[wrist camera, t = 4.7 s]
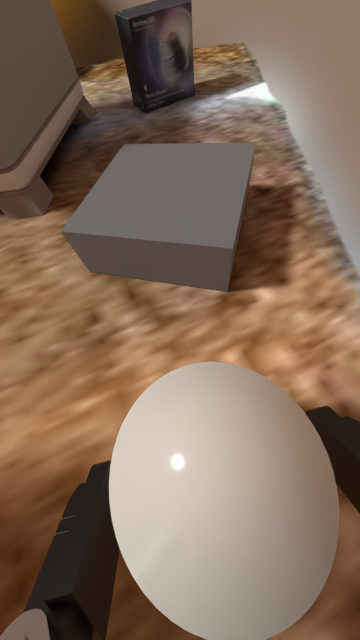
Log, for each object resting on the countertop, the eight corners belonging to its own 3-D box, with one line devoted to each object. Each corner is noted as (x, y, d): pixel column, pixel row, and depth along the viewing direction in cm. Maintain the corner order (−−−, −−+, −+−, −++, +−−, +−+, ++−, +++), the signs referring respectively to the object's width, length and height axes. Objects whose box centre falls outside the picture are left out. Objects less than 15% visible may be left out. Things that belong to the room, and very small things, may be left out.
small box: (145, 114, 39) (126, 16, 30) (133, 104, 42) (111, 12, 33) (196, 95, 41) (192, -4, 31) (180, 87, 44) (172, -6, 34)
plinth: (90, 271, 22) (60, 231, 18) (137, 189, 28) (124, 144, 24) (227, 291, 19) (232, 248, 15) (247, 193, 25) (255, 142, 21)
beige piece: (162, 481, 13) (69, 570, 4) (183, 397, 15) (149, 345, 7) (247, 512, 12) (348, 715, 3) (257, 417, 14) (333, 385, 5)
